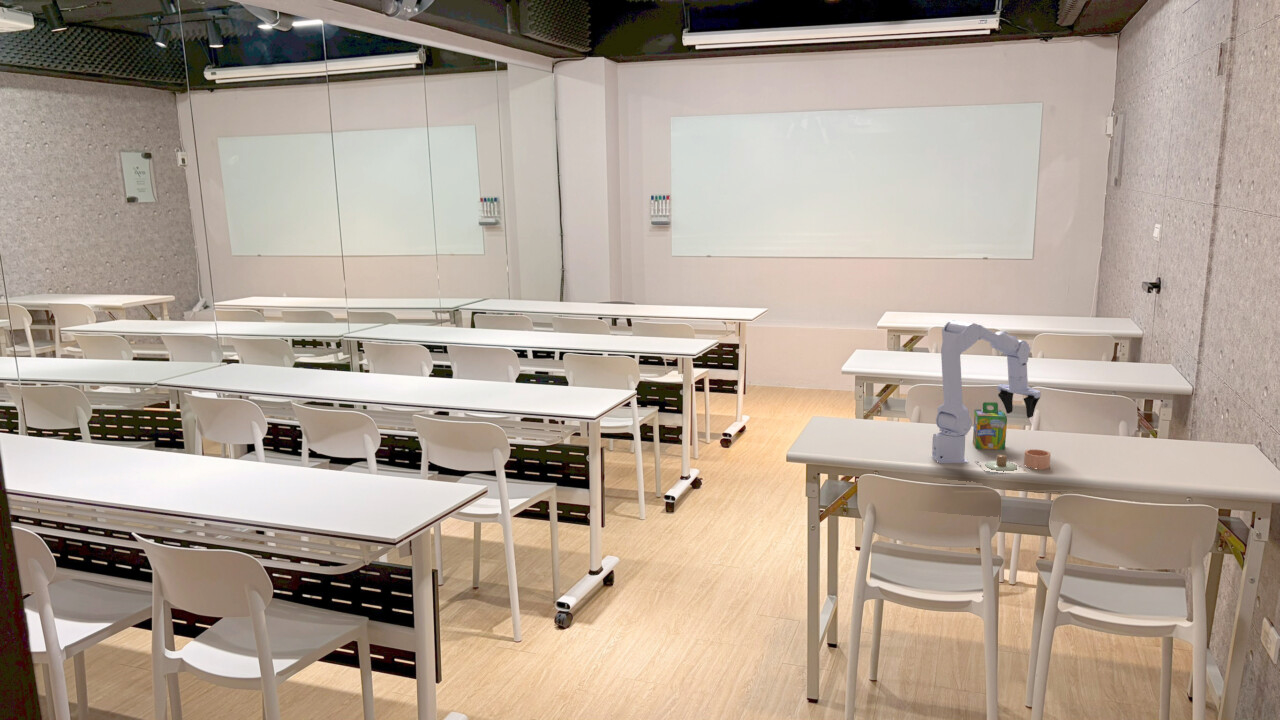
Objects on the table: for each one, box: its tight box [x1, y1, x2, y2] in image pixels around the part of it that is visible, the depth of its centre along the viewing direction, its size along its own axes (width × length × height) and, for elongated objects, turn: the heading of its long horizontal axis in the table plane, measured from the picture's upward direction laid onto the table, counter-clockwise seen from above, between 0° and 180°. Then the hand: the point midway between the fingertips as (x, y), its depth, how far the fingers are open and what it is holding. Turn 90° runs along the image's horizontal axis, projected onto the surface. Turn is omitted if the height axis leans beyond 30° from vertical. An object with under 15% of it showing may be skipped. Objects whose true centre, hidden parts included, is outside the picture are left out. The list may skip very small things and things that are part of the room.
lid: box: [985, 454, 1017, 472], centre depth 261 cm, size 9×9×4 cm
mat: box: [976, 461, 1007, 475], centre depth 261 cm, size 12×12×1 cm
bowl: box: [1023, 449, 1052, 470], centre depth 261 cm, size 7×7×4 cm
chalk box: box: [972, 401, 1008, 451], centre depth 282 cm, size 9×9×15 cm
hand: (1019, 414), depth 281 cm, fingers open, 7 cm apart
